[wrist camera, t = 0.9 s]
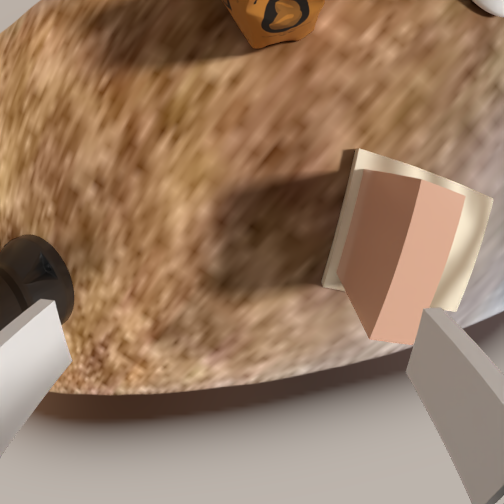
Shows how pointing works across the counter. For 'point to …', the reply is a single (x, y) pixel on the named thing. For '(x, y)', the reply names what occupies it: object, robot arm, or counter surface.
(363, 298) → the salmon pink block
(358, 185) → the birch board
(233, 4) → the coffee package
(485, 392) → the robot arm
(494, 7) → the flower in vase
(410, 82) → the counter surface
